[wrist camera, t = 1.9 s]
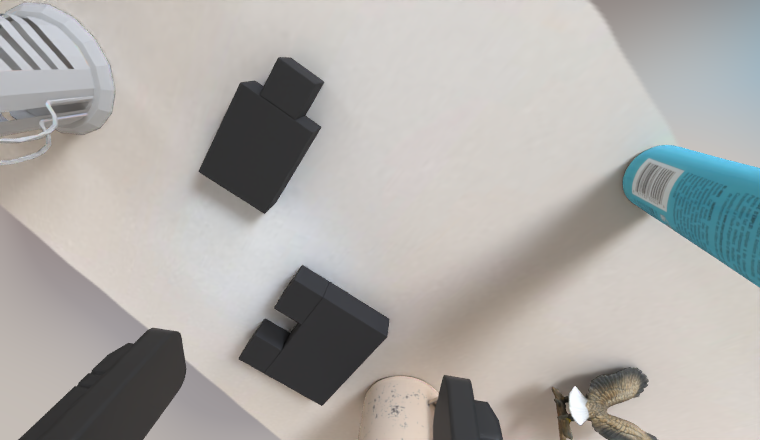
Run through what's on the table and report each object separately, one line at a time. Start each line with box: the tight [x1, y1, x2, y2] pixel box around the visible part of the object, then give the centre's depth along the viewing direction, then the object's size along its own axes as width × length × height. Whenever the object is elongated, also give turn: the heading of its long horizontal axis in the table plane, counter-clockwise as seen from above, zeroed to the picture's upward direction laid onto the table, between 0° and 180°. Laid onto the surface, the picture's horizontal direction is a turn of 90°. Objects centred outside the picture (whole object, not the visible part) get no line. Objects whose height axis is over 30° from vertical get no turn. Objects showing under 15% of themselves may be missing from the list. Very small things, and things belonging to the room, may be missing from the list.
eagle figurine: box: [552, 367, 657, 440], centre depth 33 cm, size 8×7×9 cm
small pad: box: [199, 57, 324, 214], centre depth 28 cm, size 11×6×2 cm, turn 145°
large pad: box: [239, 265, 389, 406], centre depth 36 cm, size 10×12×2 cm
